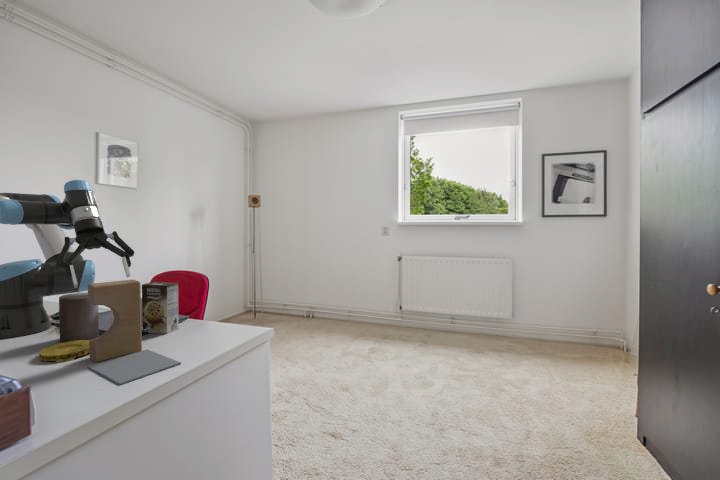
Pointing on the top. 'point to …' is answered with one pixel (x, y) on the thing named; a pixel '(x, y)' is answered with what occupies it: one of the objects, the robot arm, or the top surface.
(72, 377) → the top surface
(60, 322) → the pillar candle
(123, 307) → the decorative block
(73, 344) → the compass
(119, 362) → the mat
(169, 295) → the coffee box
